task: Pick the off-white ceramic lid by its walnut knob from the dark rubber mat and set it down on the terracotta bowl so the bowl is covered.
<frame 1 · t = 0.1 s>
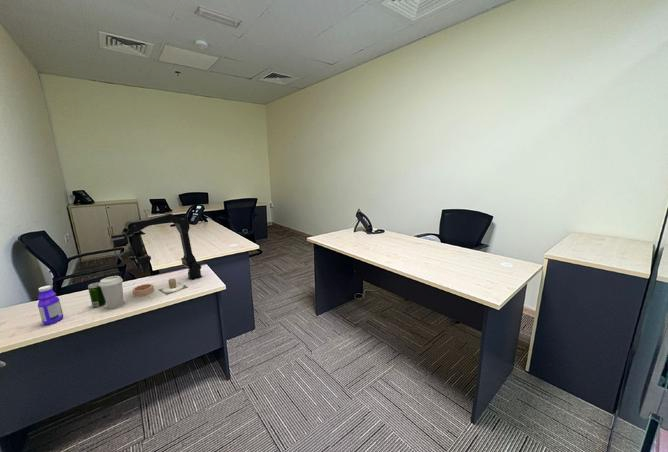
hand: (141, 270, 146), 15 cm above the table, fingers open, 9 cm apart
bottle: (54, 321, 125), on the table
lid: (173, 288, 155), resting on mat
bowl: (144, 293, 151), on the table
coffee cup: (116, 305, 138), on the table
mat: (173, 289, 155), on the table
beer can: (99, 305, 139), on the table
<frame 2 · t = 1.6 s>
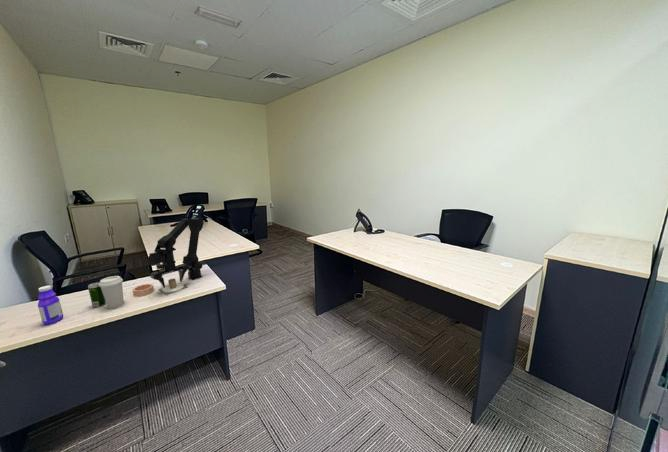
hand: (172, 284, 155), 3 cm above the table, fingers open, 9 cm apart
nothing on the table moved.
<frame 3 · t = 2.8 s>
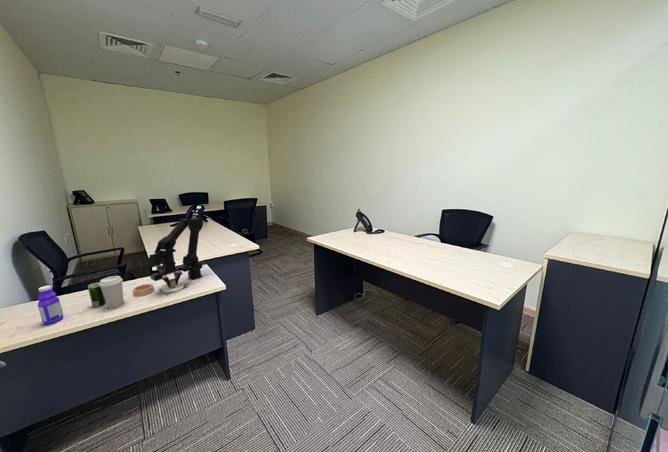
hand: (172, 286, 155), 2 cm above the table, fingers closed on lid, 4 cm apart
lid: (173, 288, 155), resting on mat, touching gripper
everything else where it was.
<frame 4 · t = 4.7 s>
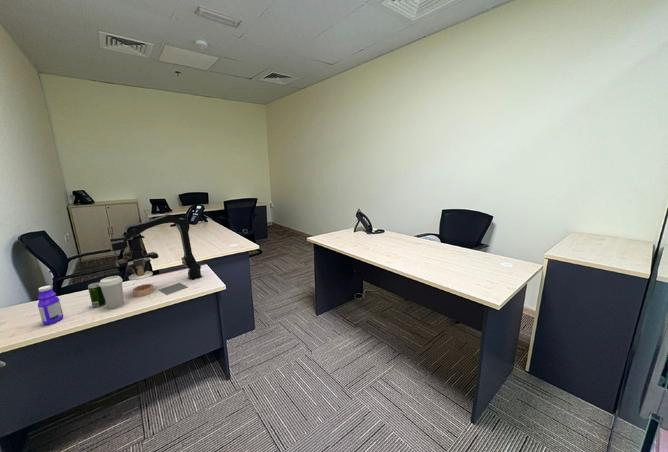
hand: (140, 273, 148), 12 cm above the table, fingers closed on lid, 4 cm apart
lid: (141, 276, 149), point 11 cm above the table, touching gripper
everything else where it was.
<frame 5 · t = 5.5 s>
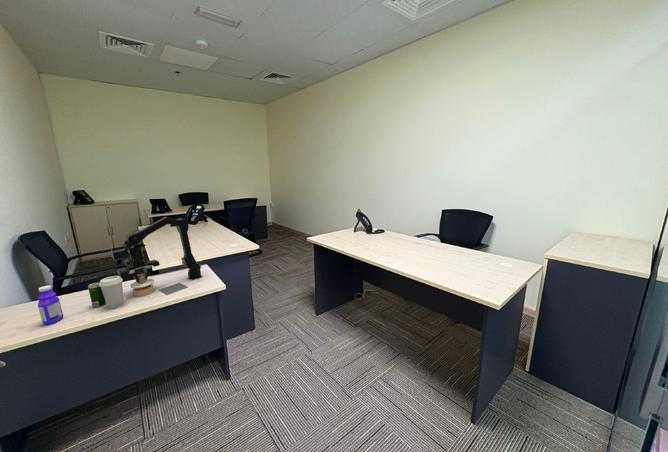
hand: (142, 281, 150), 7 cm above the table, fingers closed on lid, 4 cm apart
lid: (142, 284, 150), point 6 cm above the table, touching gripper
everything else where it was.
when the fingers open (6 cm above the table, at t = 6.4 s): lid stays where it is, resting on bowl.
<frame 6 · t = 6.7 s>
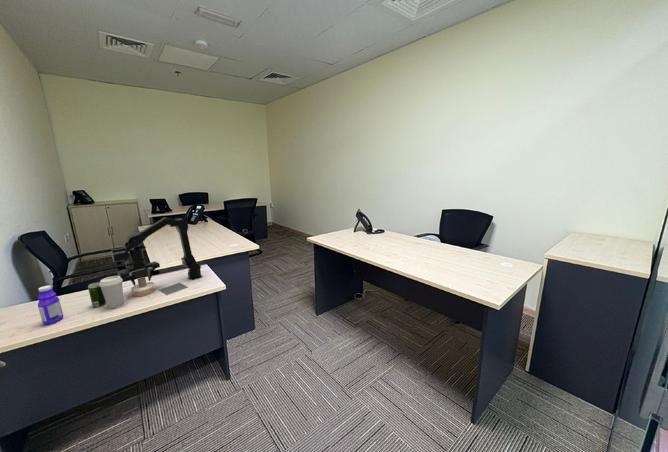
hand: (142, 283, 150), 6 cm above the table, fingers open, 7 cm apart
lid: (143, 287, 150), point 4 cm above the table, touching bowl
everything else where it was.
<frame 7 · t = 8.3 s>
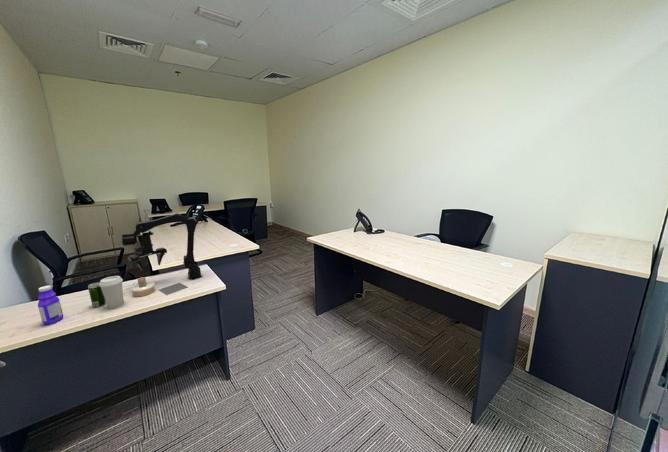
hand: (150, 267, 158), 12 cm above the table, fingers open, 9 cm apart
nothing on the table moved.
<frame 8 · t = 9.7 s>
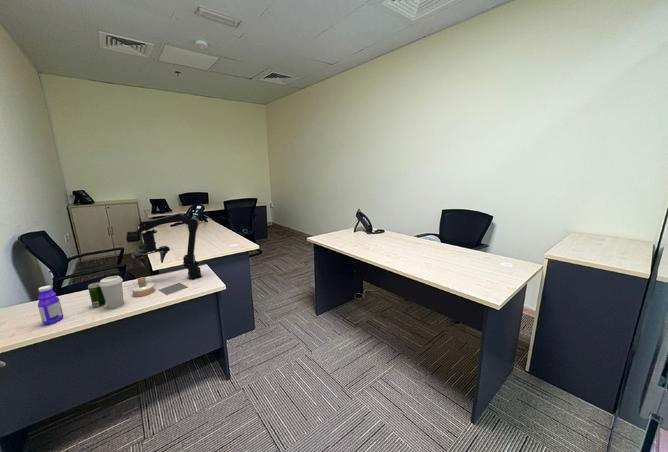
hand: (153, 265, 162), 12 cm above the table, fingers open, 9 cm apart
nothing on the table moved.
at the end: lid 0.1 cm off-centre on the bowl, point 3.6 cm above the bowl's base; lid tilted 0°; the gripper is holding nothing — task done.
